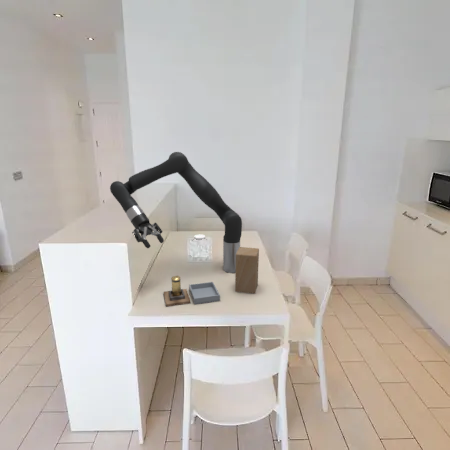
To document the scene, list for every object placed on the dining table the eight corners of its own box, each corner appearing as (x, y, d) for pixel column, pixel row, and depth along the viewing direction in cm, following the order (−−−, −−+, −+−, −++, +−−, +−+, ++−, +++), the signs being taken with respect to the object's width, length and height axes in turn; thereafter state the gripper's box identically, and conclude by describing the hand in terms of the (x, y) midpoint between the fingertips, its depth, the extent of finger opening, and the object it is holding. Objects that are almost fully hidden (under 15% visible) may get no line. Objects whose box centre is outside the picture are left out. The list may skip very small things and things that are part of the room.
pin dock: (186, 291, 164) (186, 286, 164) (190, 303, 153) (190, 298, 152) (163, 293, 161) (163, 288, 161) (166, 306, 150) (166, 301, 150)
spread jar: (196, 257, 205) (195, 239, 202) (187, 251, 214) (186, 234, 210) (212, 253, 212) (212, 235, 208) (202, 247, 220) (202, 231, 217)
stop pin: (180, 293, 159) (179, 275, 157) (181, 297, 156) (181, 279, 153) (171, 294, 158) (170, 276, 156) (172, 298, 155) (172, 280, 152)
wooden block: (257, 284, 171) (259, 248, 165) (255, 294, 162) (256, 255, 156) (238, 282, 173) (239, 246, 167) (235, 292, 164) (235, 253, 158)
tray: (212, 287, 168) (212, 281, 167) (220, 300, 155) (220, 295, 154) (189, 290, 165) (189, 284, 164) (194, 304, 152) (194, 298, 151)
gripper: (129, 215, 151) (148, 245, 149) (152, 209, 163) (170, 236, 160) (122, 225, 156) (140, 253, 153) (145, 218, 167) (163, 244, 164)
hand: (156, 244), depth 156 cm, fingers open, 8 cm apart
